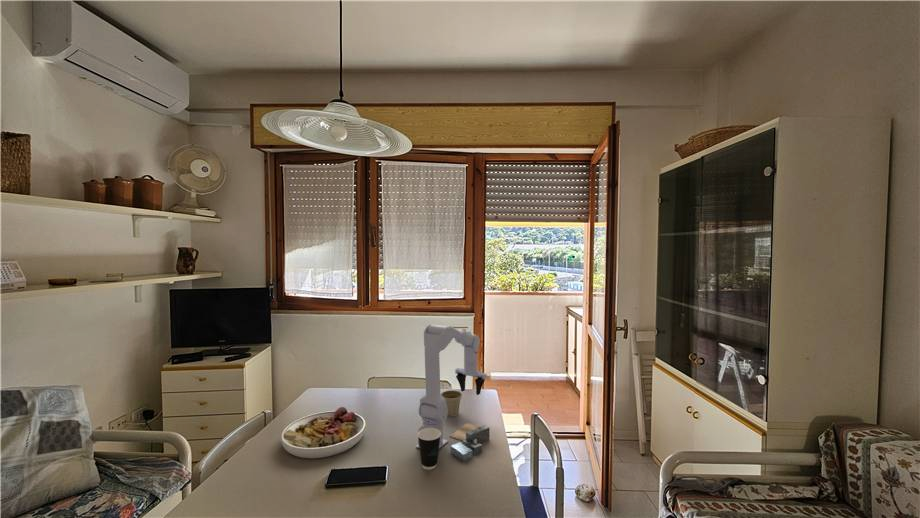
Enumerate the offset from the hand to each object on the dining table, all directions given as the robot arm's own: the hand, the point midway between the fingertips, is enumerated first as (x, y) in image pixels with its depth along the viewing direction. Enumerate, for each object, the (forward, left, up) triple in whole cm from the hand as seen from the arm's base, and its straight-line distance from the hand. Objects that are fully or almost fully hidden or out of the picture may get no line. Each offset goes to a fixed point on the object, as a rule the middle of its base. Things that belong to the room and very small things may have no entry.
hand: (470, 392), depth 165 cm
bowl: (-47, +37, -11) cm, 61 cm away
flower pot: (-3, +8, -10) cm, 13 cm away
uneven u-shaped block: (-20, -16, -10) cm, 28 cm away
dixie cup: (-40, -7, -10) cm, 42 cm away
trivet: (-14, -7, -10) cm, 19 cm away
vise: (-27, -14, -10) cm, 32 cm away
